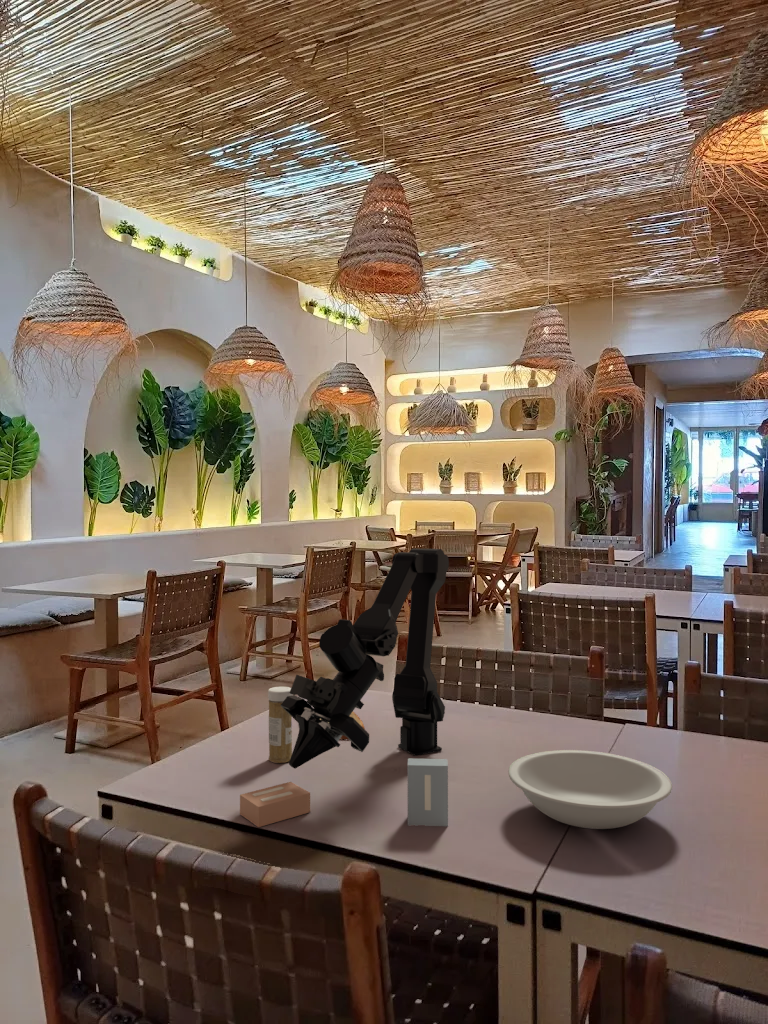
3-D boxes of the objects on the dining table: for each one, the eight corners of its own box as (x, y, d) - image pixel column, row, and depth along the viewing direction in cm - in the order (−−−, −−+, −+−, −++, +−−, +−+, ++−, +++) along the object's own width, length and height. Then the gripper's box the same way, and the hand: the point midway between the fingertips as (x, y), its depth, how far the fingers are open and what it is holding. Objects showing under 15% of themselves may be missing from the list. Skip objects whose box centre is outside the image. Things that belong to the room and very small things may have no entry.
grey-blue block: (408, 816, 114) (408, 758, 114) (447, 817, 113) (447, 758, 113) (407, 825, 110) (407, 765, 110) (448, 826, 110) (447, 766, 110)
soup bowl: (622, 784, 127) (622, 745, 127) (706, 846, 104) (706, 799, 104) (488, 793, 123) (488, 754, 123) (543, 861, 99) (543, 811, 99)
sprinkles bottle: (296, 761, 139) (296, 689, 139) (274, 765, 136) (274, 692, 136) (285, 754, 143) (285, 684, 143) (264, 758, 140) (263, 687, 140)
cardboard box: (290, 780, 120) (240, 793, 115) (310, 791, 115) (258, 805, 110) (290, 801, 120) (240, 815, 115) (310, 813, 115) (258, 828, 110)
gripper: (290, 647, 127) (231, 723, 121) (353, 665, 112) (290, 752, 106) (329, 687, 132) (274, 761, 125) (394, 709, 117) (336, 795, 111)
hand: (291, 766), depth 117 cm, fingers closed
